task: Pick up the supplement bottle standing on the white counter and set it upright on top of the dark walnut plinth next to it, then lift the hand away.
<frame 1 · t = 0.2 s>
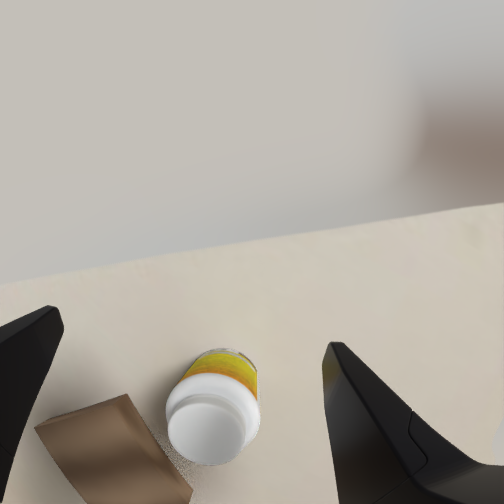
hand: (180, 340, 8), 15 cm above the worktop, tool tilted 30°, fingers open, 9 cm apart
supplement bottle: (225, 378, 23), on the worktop
walnut plinth: (114, 457, 21), on the worktop
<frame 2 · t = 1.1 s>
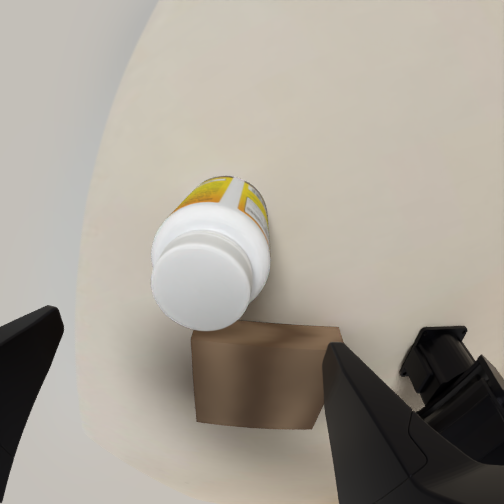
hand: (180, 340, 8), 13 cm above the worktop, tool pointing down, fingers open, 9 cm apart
supplement bottle: (227, 212, 21), on the worktop
walnut plinth: (261, 371, 26), on the worktop
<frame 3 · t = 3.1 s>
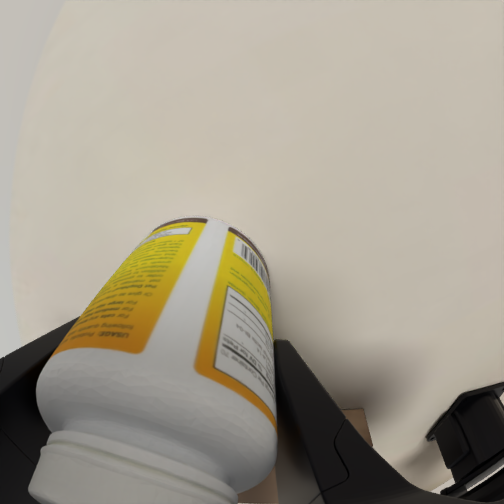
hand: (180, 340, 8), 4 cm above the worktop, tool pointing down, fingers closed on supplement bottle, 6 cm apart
supplement bottle: (203, 273, 12), on the worktop, touching gripper
walnut plinth: (260, 451, 18), on the worktop
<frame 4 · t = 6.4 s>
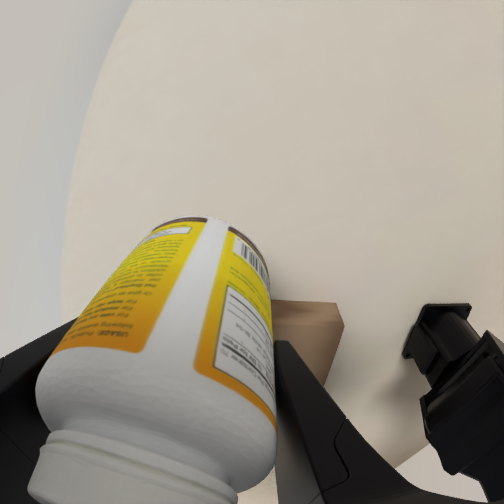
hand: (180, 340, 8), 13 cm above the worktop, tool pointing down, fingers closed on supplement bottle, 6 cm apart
supplement bottle: (203, 273, 12), point 9 cm above the worktop, touching gripper
walnut plinth: (255, 353, 25), on the worktop
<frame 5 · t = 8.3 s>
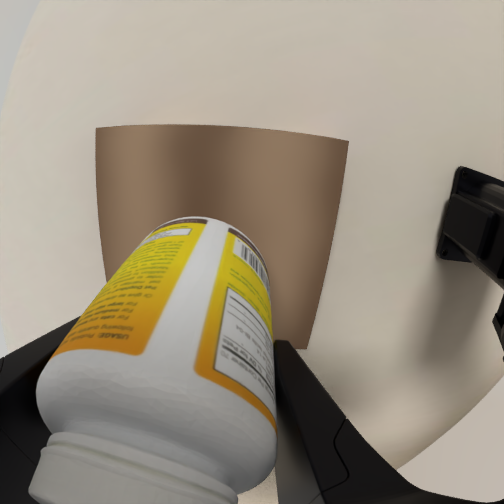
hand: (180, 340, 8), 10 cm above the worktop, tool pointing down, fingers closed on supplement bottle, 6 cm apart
supplement bottle: (203, 274, 12), point 5 cm above the worktop, touching gripper
walnut plinth: (216, 229, 17), on the worktop
when the fingers open (8 cm above the worktop, at t = 9.7 s): supplement bottle drops 1 cm, resting on walnut plinth.
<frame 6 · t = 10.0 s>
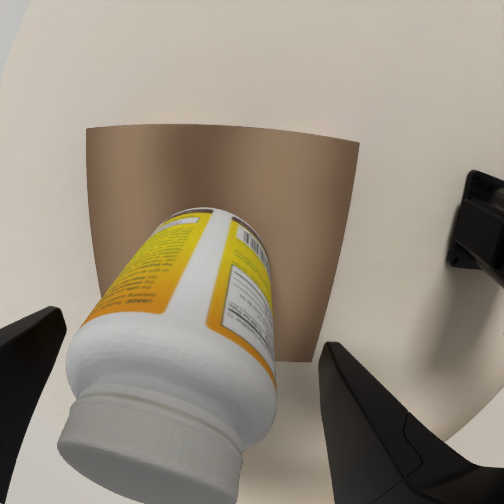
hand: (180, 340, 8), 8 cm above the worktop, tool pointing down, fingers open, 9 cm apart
supplement bottle: (209, 260, 14), point 3 cm above the worktop, touching walnut plinth
walnut plinth: (216, 236, 16), on the worktop
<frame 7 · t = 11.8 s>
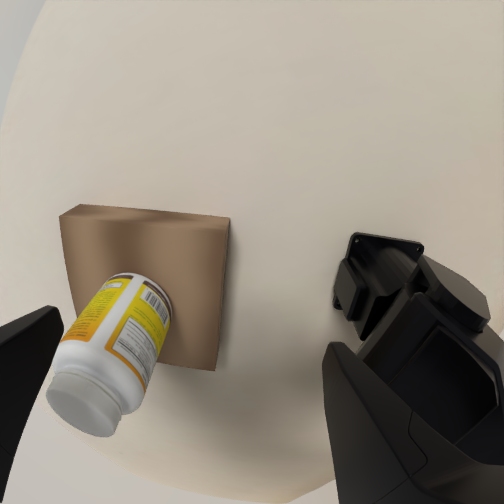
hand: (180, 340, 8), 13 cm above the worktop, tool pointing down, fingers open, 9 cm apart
supplement bottle: (139, 301, 20), point 3 cm above the worktop, touching walnut plinth
walnut plinth: (149, 281, 23), on the worktop
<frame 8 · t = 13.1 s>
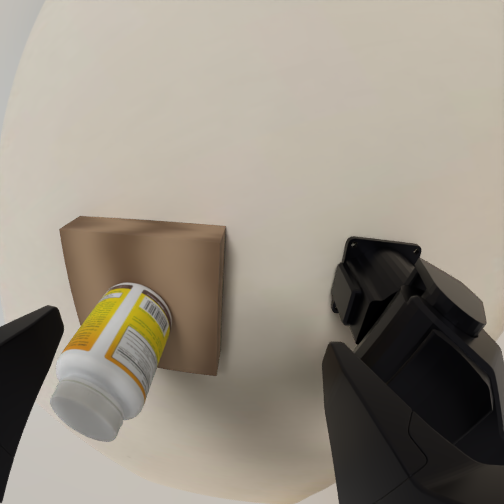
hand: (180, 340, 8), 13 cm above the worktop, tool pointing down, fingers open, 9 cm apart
supplement bottle: (139, 309, 21), point 3 cm above the worktop, touching walnut plinth
walnut plinth: (150, 289, 23), on the worktop
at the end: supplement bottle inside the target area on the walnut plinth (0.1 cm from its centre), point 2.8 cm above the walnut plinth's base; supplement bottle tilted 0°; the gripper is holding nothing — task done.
